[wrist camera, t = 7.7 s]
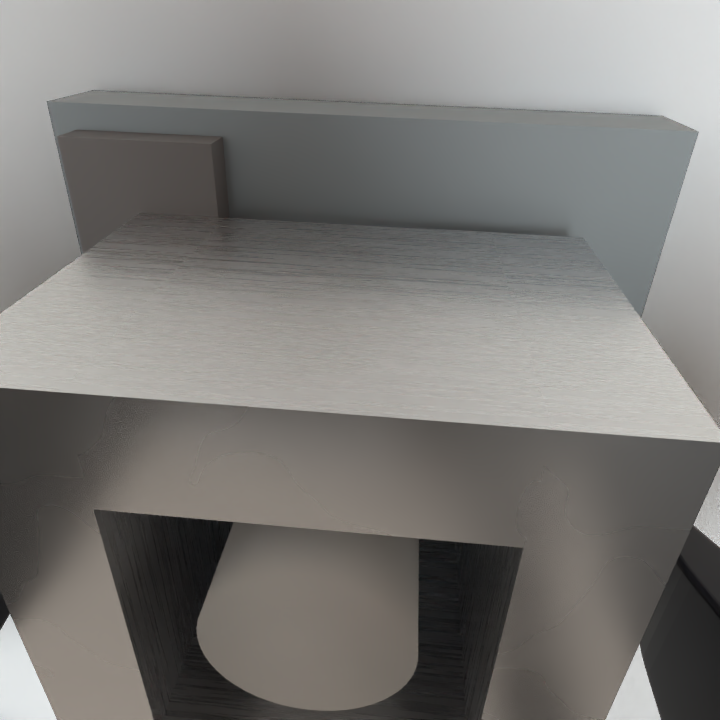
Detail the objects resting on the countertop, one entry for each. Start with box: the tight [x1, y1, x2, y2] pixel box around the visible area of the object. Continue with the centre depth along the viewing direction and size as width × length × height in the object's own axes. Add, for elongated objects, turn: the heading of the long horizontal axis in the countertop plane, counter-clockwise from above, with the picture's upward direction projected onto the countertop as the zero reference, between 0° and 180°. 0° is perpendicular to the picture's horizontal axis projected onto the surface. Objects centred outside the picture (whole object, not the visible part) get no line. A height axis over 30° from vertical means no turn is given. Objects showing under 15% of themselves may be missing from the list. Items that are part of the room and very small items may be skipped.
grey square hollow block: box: [0, 213, 720, 720], centre depth 9 cm, size 7×7×5 cm
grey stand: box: [47, 90, 698, 711], centre depth 10 cm, size 10×10×7 cm
